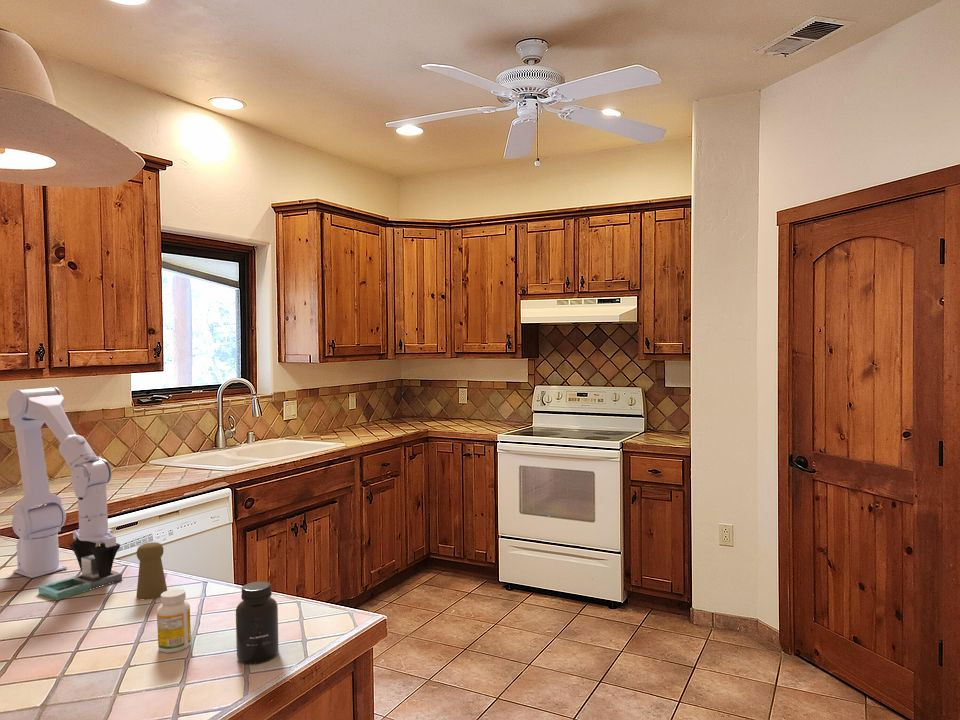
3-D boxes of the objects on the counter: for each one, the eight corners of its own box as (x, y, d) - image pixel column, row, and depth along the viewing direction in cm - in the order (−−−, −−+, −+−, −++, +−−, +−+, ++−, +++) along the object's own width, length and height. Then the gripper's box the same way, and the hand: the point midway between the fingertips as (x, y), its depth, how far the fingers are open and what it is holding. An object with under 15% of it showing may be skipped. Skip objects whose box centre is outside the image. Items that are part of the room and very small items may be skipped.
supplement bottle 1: (174, 655, 118) (172, 600, 118) (151, 651, 120) (148, 596, 120) (198, 642, 123) (196, 589, 123) (175, 638, 125) (173, 585, 125)
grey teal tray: (38, 593, 150) (38, 586, 150) (103, 574, 162) (102, 568, 162) (57, 600, 146) (57, 593, 146) (122, 579, 157) (121, 573, 157)
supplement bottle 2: (255, 668, 112) (252, 596, 112) (228, 659, 116) (225, 588, 115) (287, 651, 118) (285, 582, 118) (260, 643, 122) (258, 576, 121)
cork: (136, 592, 149) (134, 542, 149) (167, 587, 152) (165, 538, 151) (135, 601, 143) (133, 549, 143) (167, 596, 146) (165, 545, 146)
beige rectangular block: (82, 583, 156) (81, 557, 156) (100, 578, 159) (99, 552, 159) (91, 586, 154) (90, 560, 153) (109, 581, 157) (108, 555, 157)
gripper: (128, 513, 155) (130, 573, 156) (93, 507, 163) (96, 563, 164) (96, 521, 149) (99, 583, 150) (62, 513, 157) (65, 572, 158)
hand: (95, 573), depth 156 cm, fingers open, 7 cm apart
